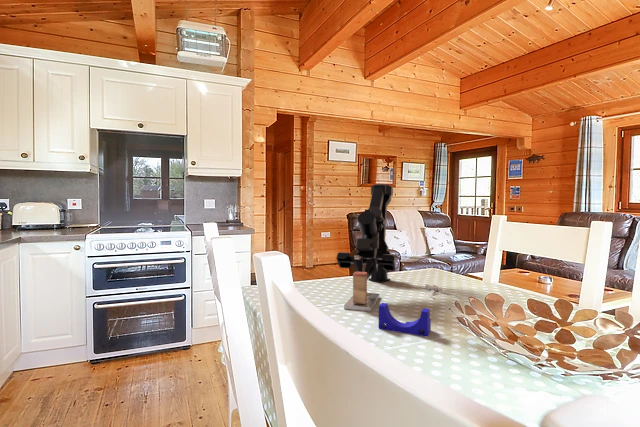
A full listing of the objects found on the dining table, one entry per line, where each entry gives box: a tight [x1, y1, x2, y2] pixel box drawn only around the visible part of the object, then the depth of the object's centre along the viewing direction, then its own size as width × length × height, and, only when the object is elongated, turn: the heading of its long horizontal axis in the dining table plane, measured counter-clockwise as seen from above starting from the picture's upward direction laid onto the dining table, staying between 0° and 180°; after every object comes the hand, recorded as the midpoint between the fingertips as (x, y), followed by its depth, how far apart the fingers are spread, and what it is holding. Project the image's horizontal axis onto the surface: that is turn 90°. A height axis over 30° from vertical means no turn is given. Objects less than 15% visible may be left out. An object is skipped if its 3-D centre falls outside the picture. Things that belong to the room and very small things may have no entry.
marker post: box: [352, 271, 368, 304], centre depth 110 cm, size 4×4×9 cm
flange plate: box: [343, 292, 381, 313], centre depth 114 cm, size 16×8×2 cm, turn 162°
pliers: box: [425, 283, 462, 300], centre depth 126 cm, size 10×2×15 cm
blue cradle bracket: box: [378, 302, 432, 338], centre depth 91 cm, size 12×4×6 cm, turn 64°
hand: (362, 283), depth 113 cm, fingers closed
